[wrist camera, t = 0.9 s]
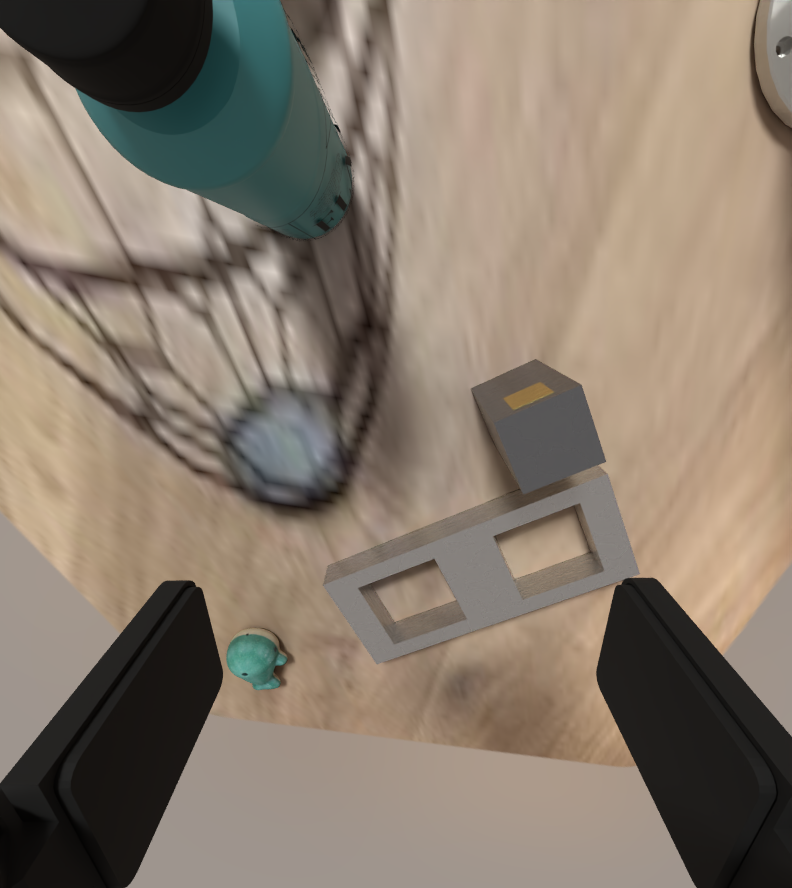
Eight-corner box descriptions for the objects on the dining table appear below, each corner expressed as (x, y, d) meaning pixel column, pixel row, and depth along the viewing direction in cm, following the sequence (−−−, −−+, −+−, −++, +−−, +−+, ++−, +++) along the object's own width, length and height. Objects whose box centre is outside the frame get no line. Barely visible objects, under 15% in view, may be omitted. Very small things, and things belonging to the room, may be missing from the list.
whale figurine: (283, 619, 39) (271, 653, 35) (298, 674, 41) (288, 711, 38) (224, 624, 39) (206, 658, 35) (243, 678, 42) (228, 714, 38)
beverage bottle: (340, 260, 27) (201, 205, 8) (242, 220, 26) (-158, 59, 7) (372, 149, 24) (282, -274, 6) (266, 102, 24) (-223, -556, 5)
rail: (592, 460, 32) (607, 474, 30) (624, 554, 35) (639, 574, 33) (328, 565, 36) (322, 585, 34) (378, 641, 39) (376, 664, 37)
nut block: (535, 358, 29) (581, 383, 22) (556, 419, 31) (606, 462, 23) (470, 387, 30) (493, 422, 22) (495, 445, 32) (523, 495, 24)
